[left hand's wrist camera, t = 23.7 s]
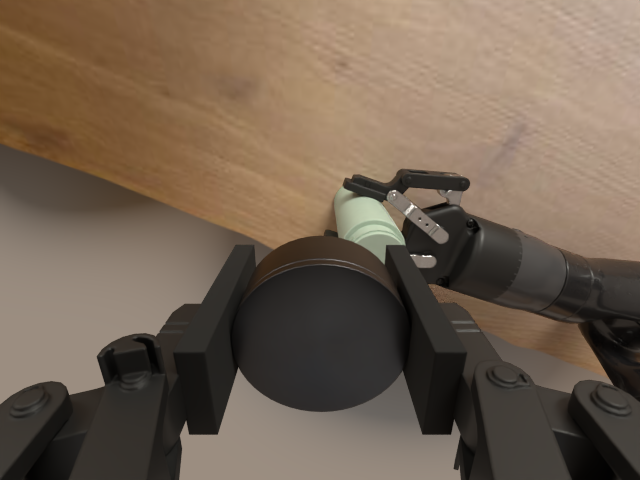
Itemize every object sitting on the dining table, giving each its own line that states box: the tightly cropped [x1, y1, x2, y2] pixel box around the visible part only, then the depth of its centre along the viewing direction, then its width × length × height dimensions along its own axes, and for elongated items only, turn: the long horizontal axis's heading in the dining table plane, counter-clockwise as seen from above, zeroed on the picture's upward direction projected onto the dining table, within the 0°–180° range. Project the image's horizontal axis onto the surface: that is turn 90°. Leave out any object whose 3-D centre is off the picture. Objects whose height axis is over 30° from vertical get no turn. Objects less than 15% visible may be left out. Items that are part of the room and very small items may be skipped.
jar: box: [334, 186, 405, 265], centre depth 31 cm, size 5×5×16 cm
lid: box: [231, 236, 411, 412], centre depth 11 cm, size 6×6×2 cm
